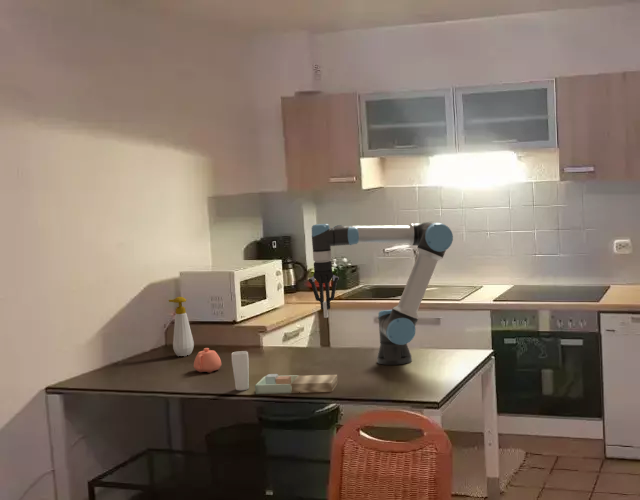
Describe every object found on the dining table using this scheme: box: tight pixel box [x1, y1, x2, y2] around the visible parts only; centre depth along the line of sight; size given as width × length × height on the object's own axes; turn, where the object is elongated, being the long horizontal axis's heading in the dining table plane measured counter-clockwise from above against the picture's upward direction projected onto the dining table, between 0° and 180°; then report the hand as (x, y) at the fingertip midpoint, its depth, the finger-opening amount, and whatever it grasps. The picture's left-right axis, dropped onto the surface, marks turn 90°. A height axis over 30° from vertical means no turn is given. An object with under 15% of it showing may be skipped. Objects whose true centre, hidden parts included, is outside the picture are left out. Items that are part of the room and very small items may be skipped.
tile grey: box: [265, 373, 279, 384], centre depth 371 cm, size 5×5×4 cm
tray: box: [254, 374, 299, 395], centre depth 371 cm, size 14×16×4 cm
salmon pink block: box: [276, 375, 291, 385], centre depth 371 cm, size 5×5×4 cm
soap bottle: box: [168, 296, 195, 357], centre depth 454 cm, size 13×10×29 cm
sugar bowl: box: [193, 347, 222, 374], centre depth 414 cm, size 12×14×10 cm
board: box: [291, 374, 339, 394], centre depth 368 cm, size 16×14×4 cm
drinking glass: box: [231, 350, 250, 392], centre depth 374 cm, size 7×7×15 cm
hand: (326, 317), depth 389 cm, fingers closed
